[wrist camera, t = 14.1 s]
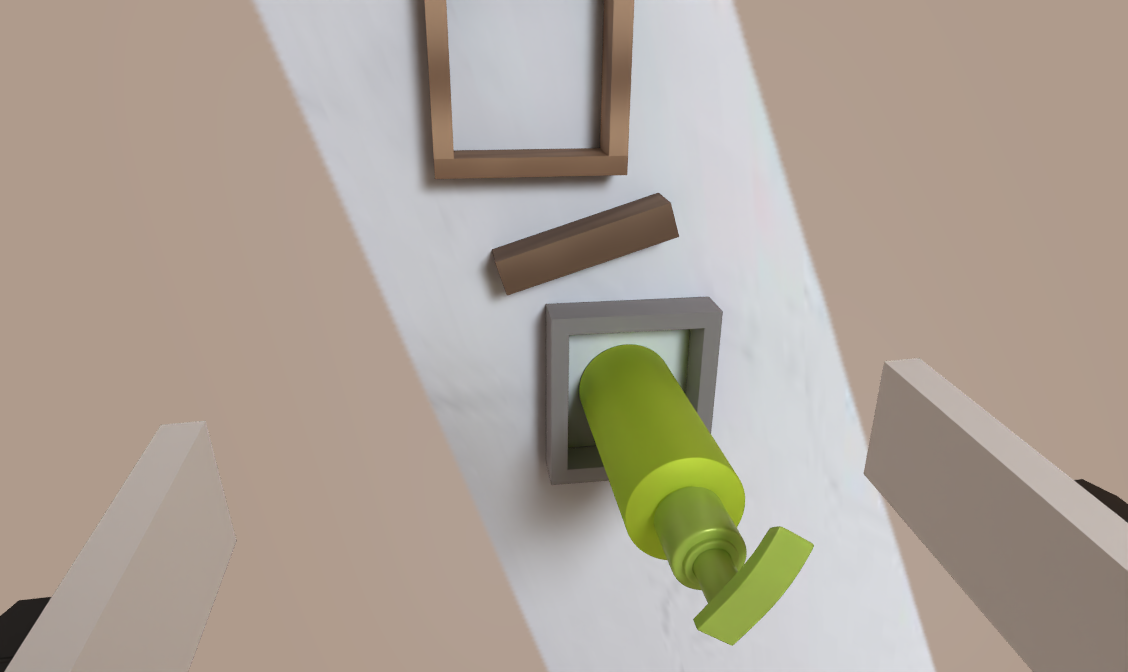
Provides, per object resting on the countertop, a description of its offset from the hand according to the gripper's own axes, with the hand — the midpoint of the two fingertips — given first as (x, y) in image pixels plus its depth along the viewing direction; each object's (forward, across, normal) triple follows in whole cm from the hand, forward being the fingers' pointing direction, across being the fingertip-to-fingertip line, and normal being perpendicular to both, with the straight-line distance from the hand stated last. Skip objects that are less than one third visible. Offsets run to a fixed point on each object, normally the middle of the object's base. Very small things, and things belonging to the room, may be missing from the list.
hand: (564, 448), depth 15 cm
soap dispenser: (+29, +8, -15) cm, 33 cm away
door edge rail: (+29, +5, -5) cm, 30 cm away
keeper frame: (+28, +8, -15) cm, 33 cm away
